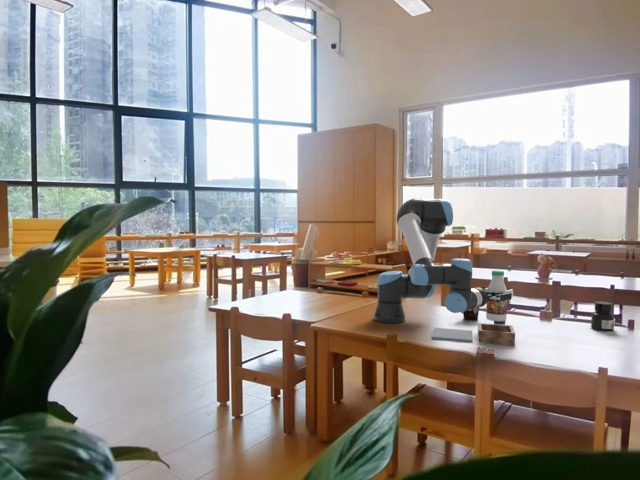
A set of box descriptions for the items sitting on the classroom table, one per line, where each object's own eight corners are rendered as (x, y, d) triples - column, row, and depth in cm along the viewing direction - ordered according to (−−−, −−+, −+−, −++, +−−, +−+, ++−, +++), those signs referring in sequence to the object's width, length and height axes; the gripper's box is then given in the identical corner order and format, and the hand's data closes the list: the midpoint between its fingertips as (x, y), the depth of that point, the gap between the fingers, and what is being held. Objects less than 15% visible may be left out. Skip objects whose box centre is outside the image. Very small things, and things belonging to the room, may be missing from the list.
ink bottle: (607, 332, 205) (608, 305, 204) (586, 328, 212) (587, 302, 212) (618, 329, 210) (619, 303, 210) (597, 325, 218) (598, 300, 217)
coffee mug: (477, 317, 232) (478, 297, 232) (481, 322, 224) (482, 301, 223) (453, 317, 234) (454, 297, 233) (456, 321, 225) (457, 300, 224)
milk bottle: (482, 317, 195) (484, 269, 194) (500, 317, 196) (502, 269, 194) (491, 321, 187) (492, 272, 186) (509, 321, 188) (511, 272, 187)
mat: (431, 339, 193) (431, 336, 193) (434, 329, 208) (434, 327, 208) (472, 342, 188) (472, 340, 188) (472, 332, 203) (472, 330, 203)
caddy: (478, 342, 188) (478, 330, 187) (477, 334, 201) (478, 323, 200) (514, 345, 184) (515, 333, 183) (511, 337, 196) (512, 325, 196)
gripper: (450, 303, 187) (479, 296, 202) (499, 312, 172) (527, 304, 187) (450, 285, 186) (480, 279, 202) (500, 292, 171) (527, 285, 186)
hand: (502, 291), depth 194 cm, fingers closed on milk bottle, 7 cm apart
